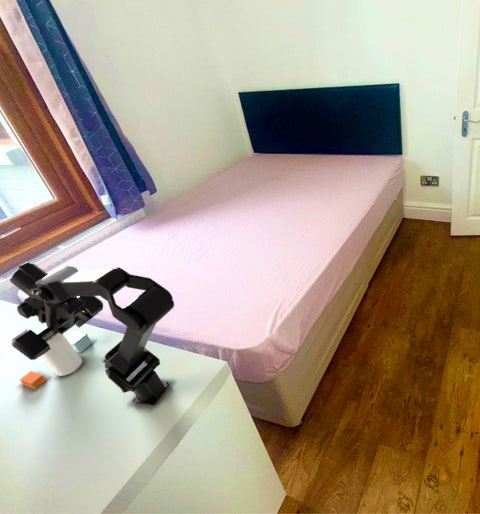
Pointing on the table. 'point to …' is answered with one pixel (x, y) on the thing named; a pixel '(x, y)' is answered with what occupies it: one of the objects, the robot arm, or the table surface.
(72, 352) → the can
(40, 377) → the orange rectangular block
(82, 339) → the box
